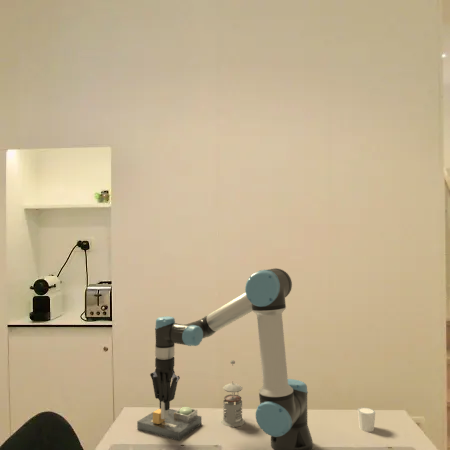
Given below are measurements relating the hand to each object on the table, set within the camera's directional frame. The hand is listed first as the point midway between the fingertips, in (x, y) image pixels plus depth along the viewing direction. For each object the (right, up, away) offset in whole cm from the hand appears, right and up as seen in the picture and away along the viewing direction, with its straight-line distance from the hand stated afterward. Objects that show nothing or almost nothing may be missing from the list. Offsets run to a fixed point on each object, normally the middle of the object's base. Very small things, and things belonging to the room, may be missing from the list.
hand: (164, 417), depth 158 cm
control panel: (+1, -6, +4) cm, 7 cm away
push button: (+8, -2, +5) cm, 10 cm away
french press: (+27, -6, +10) cm, 29 cm away
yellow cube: (-2, -2, +1) cm, 3 cm away
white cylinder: (+80, -6, +3) cm, 80 cm away
